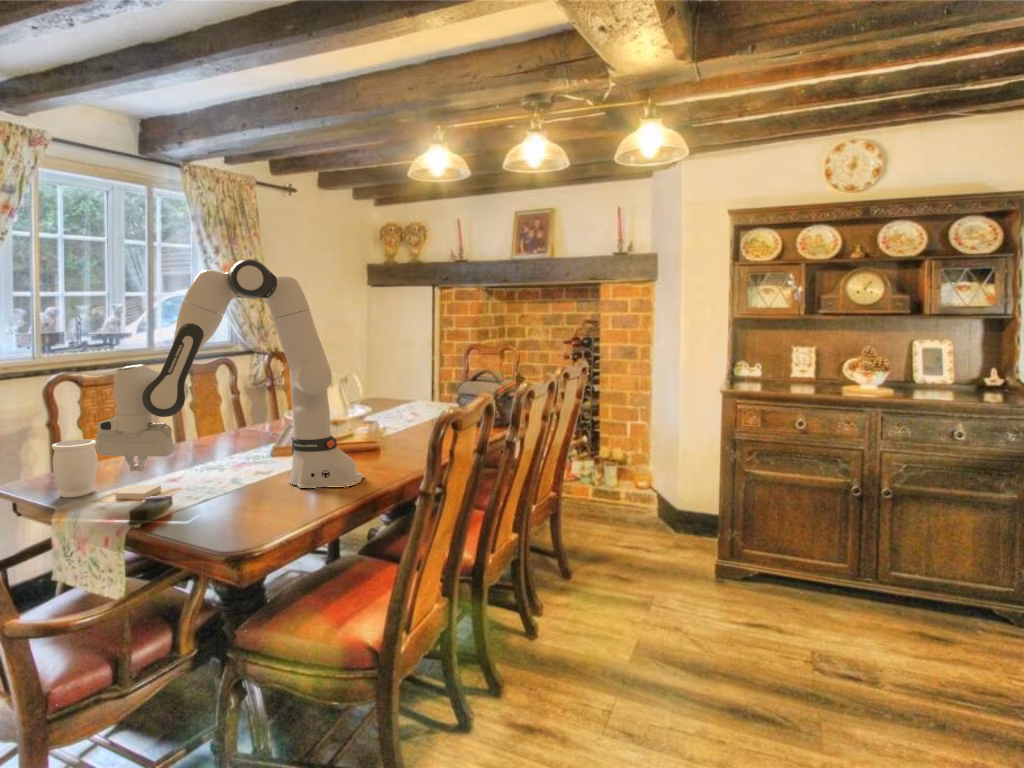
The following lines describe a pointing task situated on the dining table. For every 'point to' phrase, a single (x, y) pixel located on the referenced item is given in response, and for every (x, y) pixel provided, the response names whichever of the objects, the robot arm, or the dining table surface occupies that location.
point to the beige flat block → (138, 492)
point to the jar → (75, 467)
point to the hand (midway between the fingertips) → (136, 471)
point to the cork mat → (112, 499)
